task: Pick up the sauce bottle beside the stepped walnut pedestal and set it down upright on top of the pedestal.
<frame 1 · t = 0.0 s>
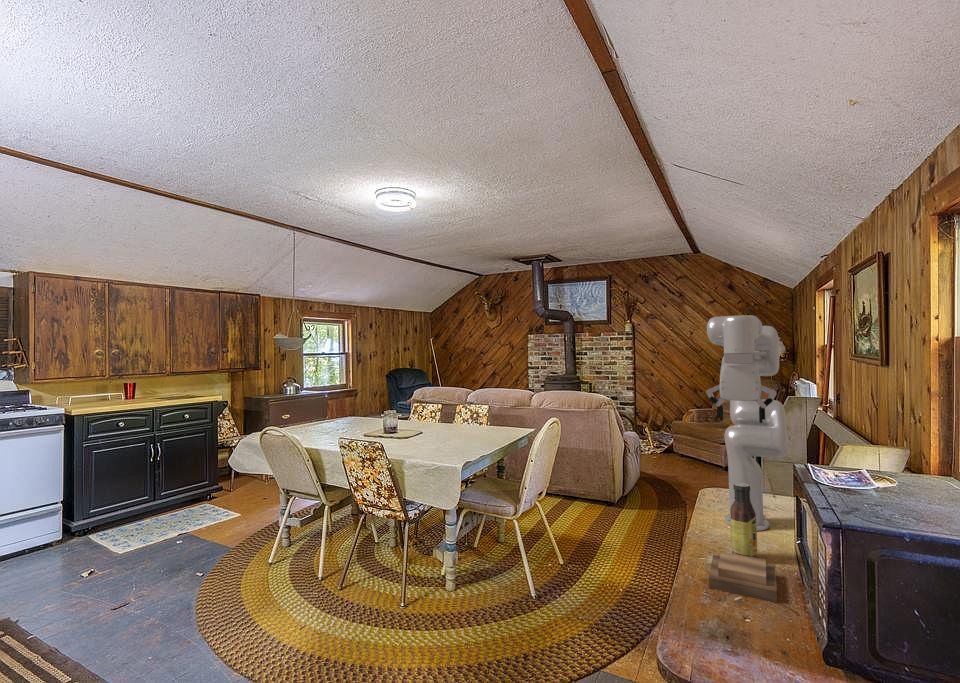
hand: (740, 421, 134), 37 cm above the table, tool pointing down, fingers open, 9 cm apart
pedestal: (742, 581, 119), on the table
sauce bottle: (744, 558, 132), on the table
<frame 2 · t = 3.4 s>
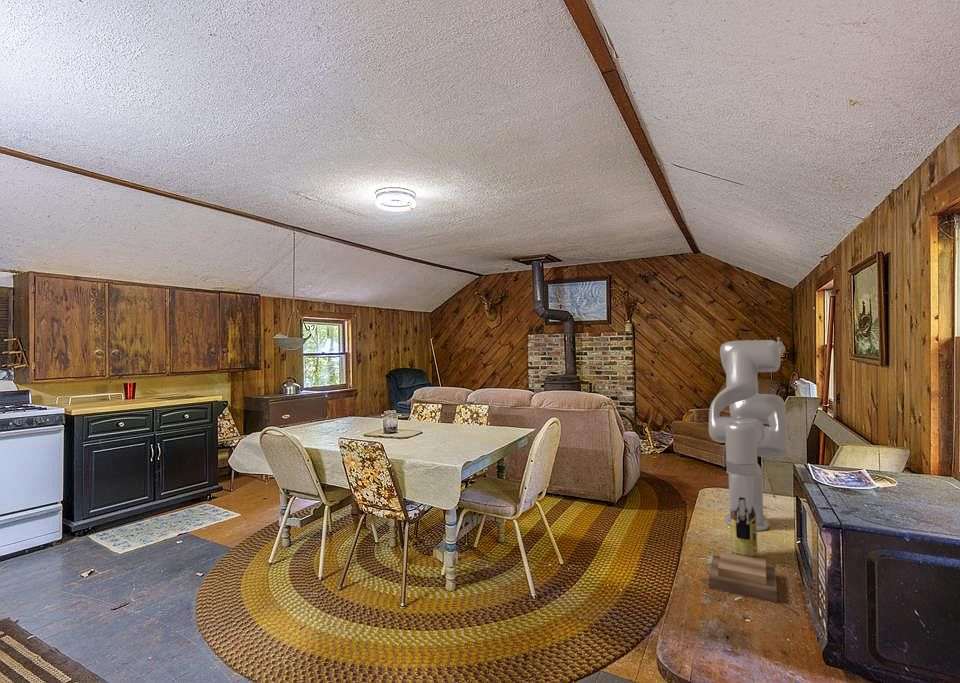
hand: (743, 533, 132), 7 cm above the table, tool pointing down, fingers closed on sauce bottle, 6 cm apart
sauce bottle: (744, 558, 132), on the table, touching gripper
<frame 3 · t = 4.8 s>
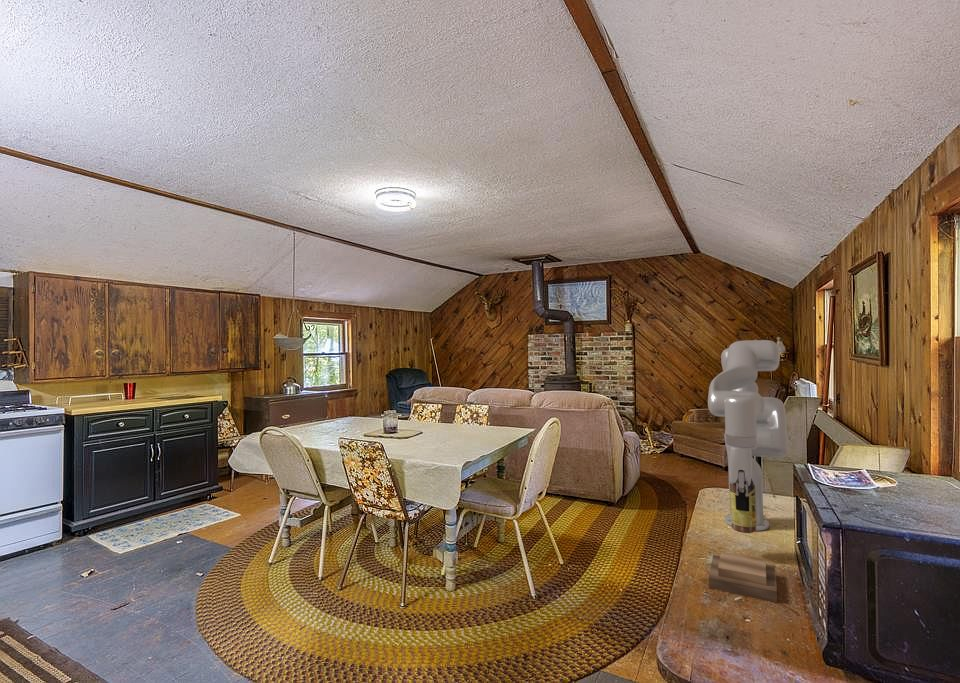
hand: (743, 505, 132), 14 cm above the table, tool pointing down, fingers closed on sauce bottle, 6 cm apart
sauce bottle: (743, 530, 132), point 7 cm above the table, touching gripper
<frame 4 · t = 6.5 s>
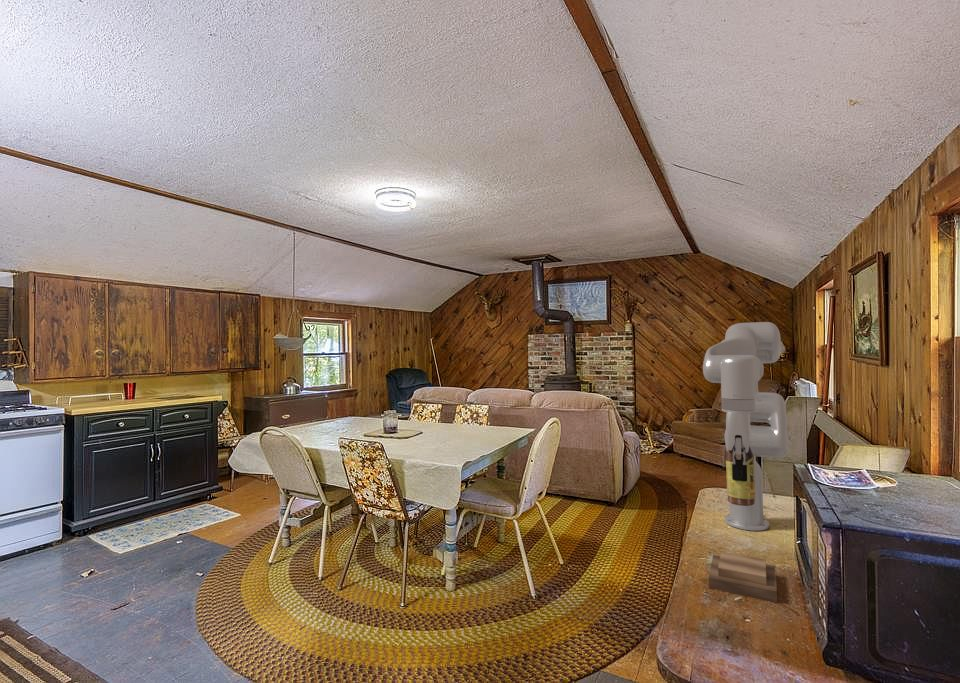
hand: (740, 476, 121), 25 cm above the table, tool pointing down, fingers closed on sauce bottle, 6 cm apart
sauce bottle: (741, 503, 121), point 18 cm above the table, touching gripper
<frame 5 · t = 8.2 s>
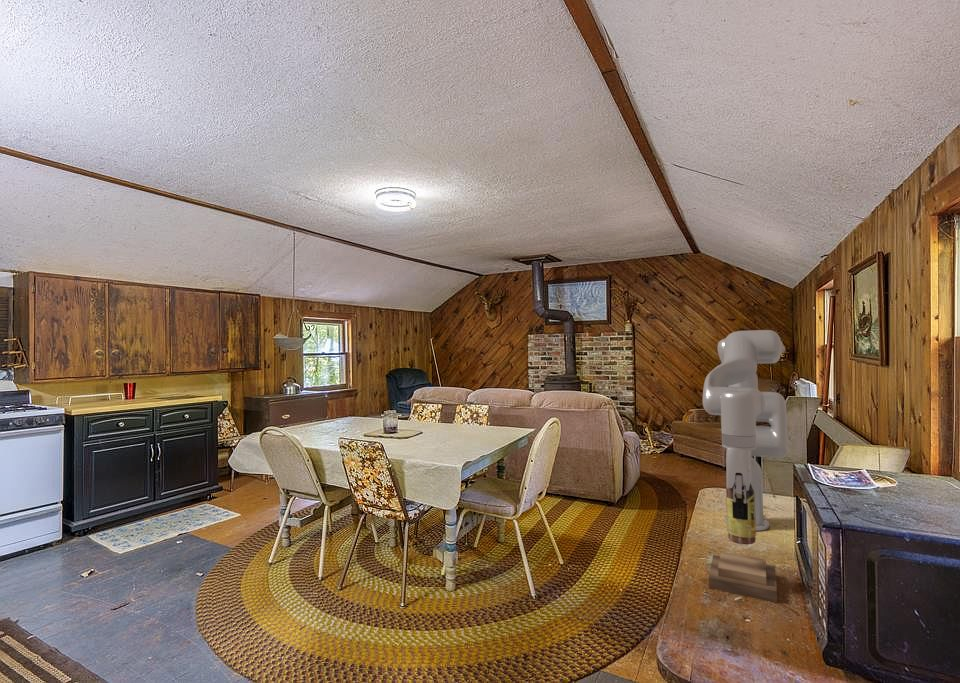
hand: (740, 513, 119), 17 cm above the table, tool pointing down, fingers closed on sauce bottle, 6 cm apart
sauce bottle: (741, 541, 118), point 10 cm above the table, touching gripper
when the fingers open (12 cm above the table, at t = 9.5 s): sauce bottle drops 1 cm, resting on pedestal.
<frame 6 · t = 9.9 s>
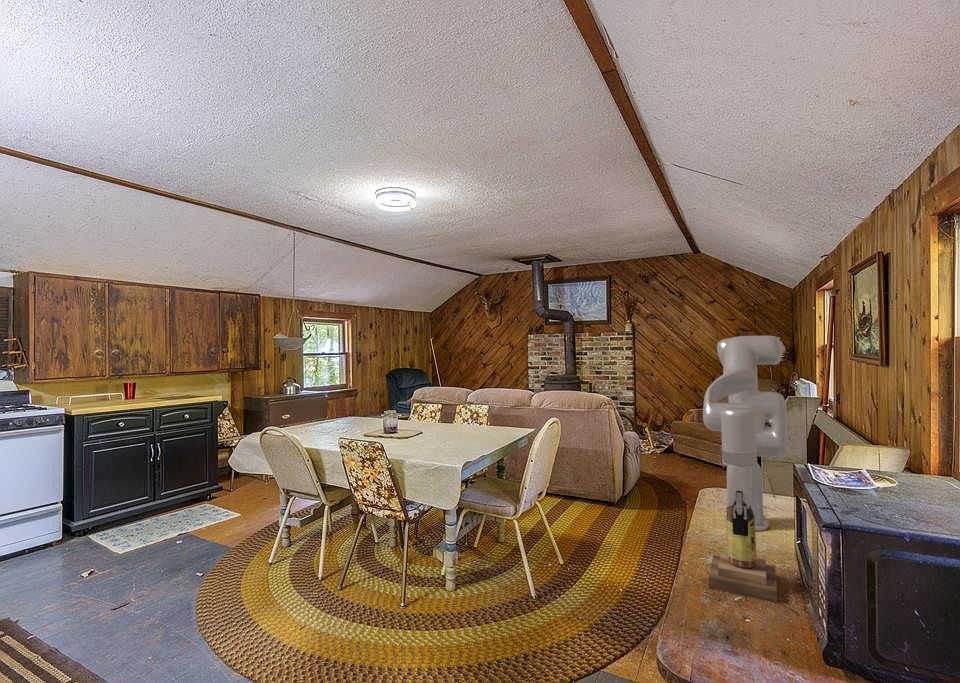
hand: (741, 527, 119), 13 cm above the table, tool pointing down, fingers open, 9 cm apart
sauce bottle: (742, 564, 119), point 4 cm above the table, touching pedestal
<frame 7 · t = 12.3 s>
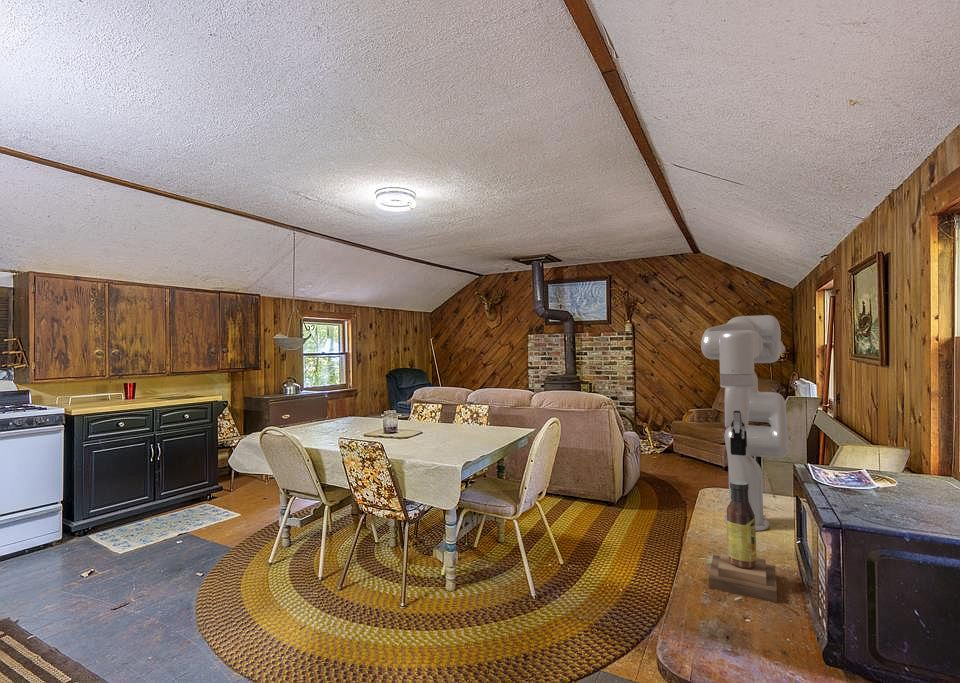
hand: (739, 450, 119), 32 cm above the table, tool pointing down, fingers open, 9 cm apart
nothing on the table moved.
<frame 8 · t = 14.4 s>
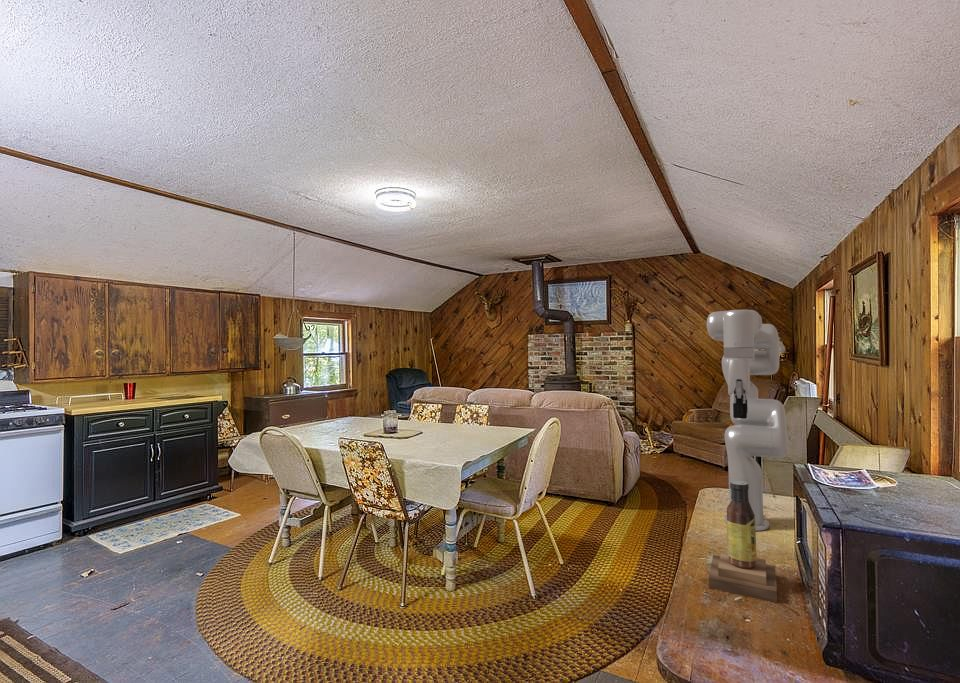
hand: (740, 415, 134), 38 cm above the table, tool pointing down, fingers open, 9 cm apart
nothing on the table moved.
at the end: sauce bottle inside the target area on the pedestal (0.0 cm from its centre), point 4.3 cm above the pedestal's base; sauce bottle tilted 0°; the gripper is holding nothing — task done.
